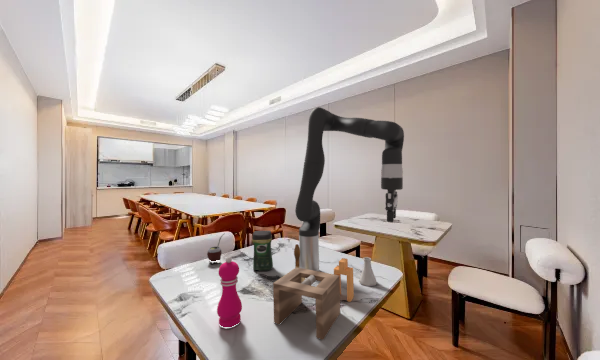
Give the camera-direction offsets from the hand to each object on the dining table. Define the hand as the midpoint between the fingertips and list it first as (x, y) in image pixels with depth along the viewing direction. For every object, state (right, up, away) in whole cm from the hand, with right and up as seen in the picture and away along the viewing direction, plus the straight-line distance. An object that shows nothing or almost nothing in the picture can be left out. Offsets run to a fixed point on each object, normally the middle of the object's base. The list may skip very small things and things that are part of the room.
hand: (391, 219), depth 86 cm
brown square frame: (-32, -28, -15) cm, 45 cm away
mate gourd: (-79, -29, +36) cm, 92 cm away
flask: (-6, -28, +9) cm, 30 cm away
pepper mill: (-56, -29, -16) cm, 65 cm away
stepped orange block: (-18, -28, -3) cm, 33 cm away
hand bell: (-35, -28, +10) cm, 46 cm away
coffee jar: (-52, -29, +26) cm, 65 cm away
